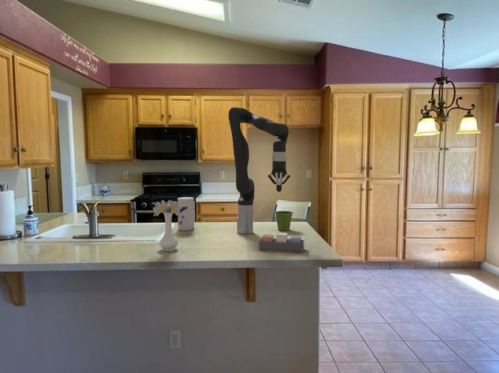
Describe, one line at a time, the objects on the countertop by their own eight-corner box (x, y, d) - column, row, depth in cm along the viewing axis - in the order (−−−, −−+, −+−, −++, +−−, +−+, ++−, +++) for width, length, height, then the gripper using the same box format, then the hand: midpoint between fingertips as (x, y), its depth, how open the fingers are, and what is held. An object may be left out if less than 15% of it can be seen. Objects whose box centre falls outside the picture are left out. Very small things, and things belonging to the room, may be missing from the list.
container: (175, 230, 226) (174, 198, 224) (182, 227, 236) (182, 196, 234) (189, 231, 223) (189, 199, 221) (196, 228, 233) (196, 197, 231)
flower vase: (184, 244, 191) (183, 197, 189) (177, 254, 173) (176, 202, 170) (160, 244, 191) (159, 197, 189) (150, 254, 173) (149, 202, 170)
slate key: (290, 247, 178) (290, 238, 177) (291, 244, 183) (291, 235, 182) (300, 247, 177) (300, 238, 176) (301, 245, 182) (301, 236, 181)
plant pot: (270, 229, 230) (271, 211, 229) (286, 227, 235) (287, 210, 234) (280, 232, 219) (280, 214, 218) (296, 231, 224) (296, 213, 223)
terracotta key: (262, 245, 181) (262, 236, 180) (263, 243, 185) (263, 234, 185) (272, 246, 180) (272, 237, 179) (273, 243, 184) (273, 234, 184)
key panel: (259, 250, 180) (259, 241, 179) (261, 246, 187) (261, 237, 187) (303, 252, 175) (303, 243, 175) (304, 248, 183) (304, 239, 183)
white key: (276, 243, 179) (276, 234, 179) (277, 241, 184) (277, 232, 184) (286, 244, 178) (286, 235, 178) (287, 241, 183) (287, 233, 183)
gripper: (292, 160, 200) (291, 191, 201) (268, 160, 202) (268, 190, 204) (290, 160, 192) (290, 192, 194) (266, 160, 195) (266, 192, 197)
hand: (279, 191), depth 199 cm, fingers closed
